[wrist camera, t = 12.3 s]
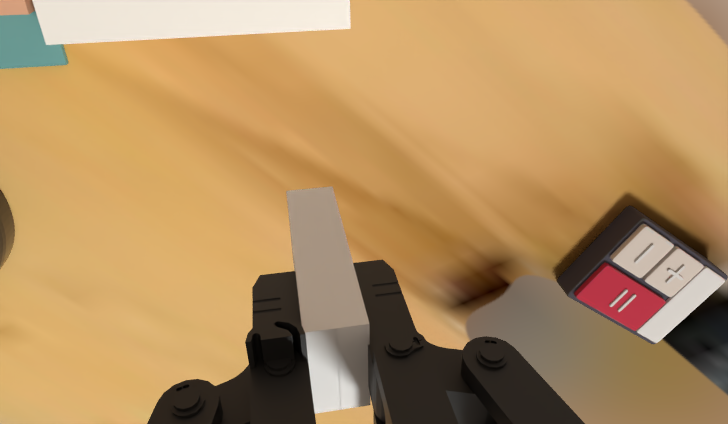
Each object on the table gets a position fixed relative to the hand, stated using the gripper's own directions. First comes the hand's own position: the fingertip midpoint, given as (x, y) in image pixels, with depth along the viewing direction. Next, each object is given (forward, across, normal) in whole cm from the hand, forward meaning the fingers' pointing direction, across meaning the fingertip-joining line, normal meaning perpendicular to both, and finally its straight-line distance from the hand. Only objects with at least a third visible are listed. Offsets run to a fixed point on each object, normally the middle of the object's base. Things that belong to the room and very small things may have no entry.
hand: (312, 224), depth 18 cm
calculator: (+27, -36, +27) cm, 53 cm away
